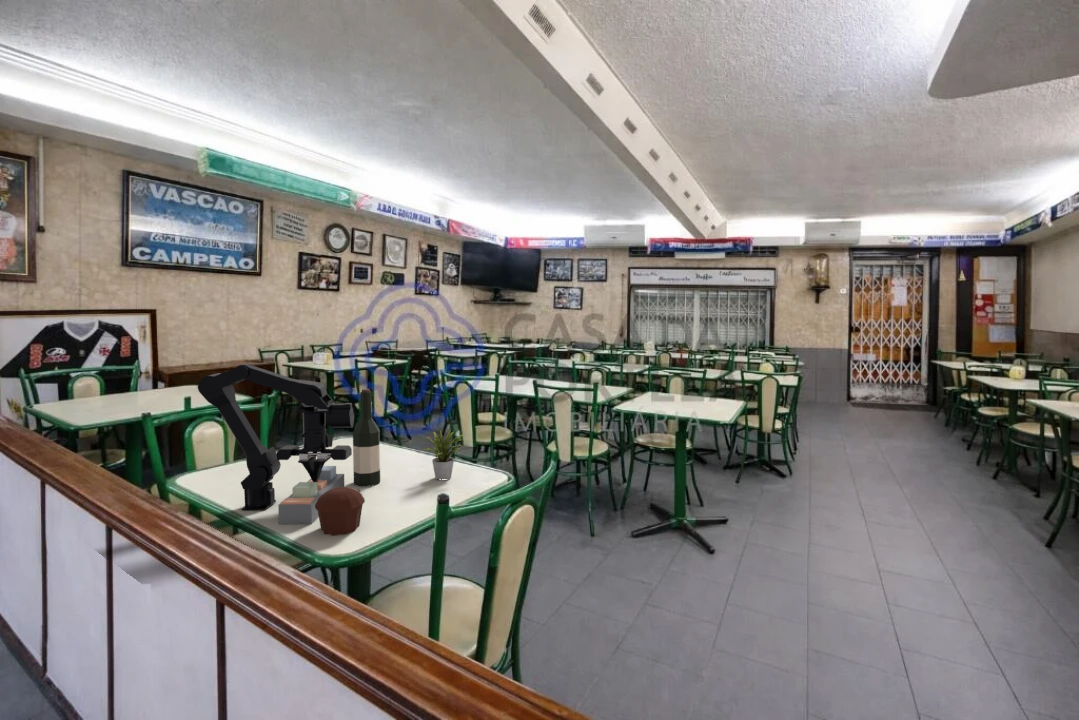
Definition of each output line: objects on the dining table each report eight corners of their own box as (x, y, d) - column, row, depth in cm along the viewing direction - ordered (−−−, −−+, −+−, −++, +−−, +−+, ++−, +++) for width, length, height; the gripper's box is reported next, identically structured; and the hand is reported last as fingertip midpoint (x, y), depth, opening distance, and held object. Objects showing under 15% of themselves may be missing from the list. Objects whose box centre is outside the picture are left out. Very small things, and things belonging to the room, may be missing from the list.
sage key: (292, 500, 135) (292, 487, 135) (300, 494, 139) (299, 482, 139) (310, 500, 135) (310, 487, 135) (317, 494, 140) (317, 482, 139)
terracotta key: (304, 497, 142) (304, 485, 142) (311, 491, 147) (310, 479, 147) (321, 497, 143) (321, 485, 142) (327, 491, 147) (327, 479, 147)
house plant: (462, 486, 161) (462, 435, 160) (418, 486, 161) (417, 434, 160) (468, 472, 175) (468, 425, 174) (427, 472, 175) (427, 425, 174)
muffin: (321, 541, 121) (320, 500, 120) (310, 526, 130) (309, 487, 129) (371, 530, 128) (370, 491, 127) (358, 515, 137) (357, 479, 136)
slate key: (314, 482, 150) (314, 470, 149) (320, 477, 154) (320, 465, 154) (330, 482, 150) (330, 470, 150) (336, 477, 155) (336, 465, 154)
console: (278, 524, 131) (278, 502, 130) (317, 489, 156) (316, 472, 156) (311, 523, 131) (311, 502, 131) (344, 489, 157) (344, 471, 156)
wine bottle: (372, 487, 159) (370, 391, 157) (348, 485, 161) (346, 390, 158) (385, 479, 167) (384, 388, 165) (362, 477, 169) (360, 387, 166)
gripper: (357, 422, 152) (357, 473, 153) (292, 421, 151) (293, 473, 152) (344, 430, 141) (345, 486, 142) (274, 430, 140) (276, 486, 141)
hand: (315, 482), depth 145 cm, fingers closed, pressing on terracotta key
